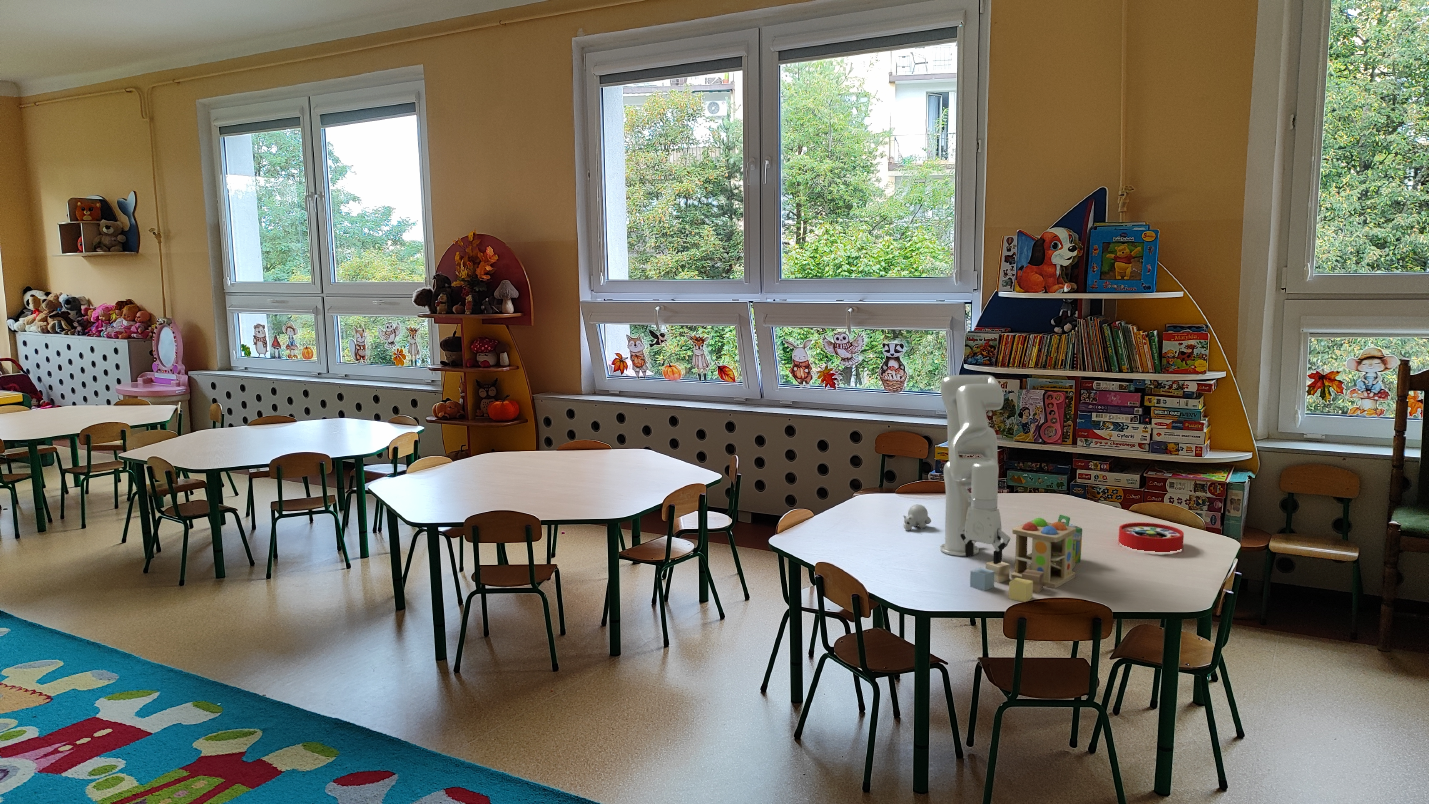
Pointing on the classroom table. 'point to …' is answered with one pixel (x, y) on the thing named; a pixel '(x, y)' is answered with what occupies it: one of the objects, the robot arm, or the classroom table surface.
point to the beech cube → (999, 571)
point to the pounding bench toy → (1045, 551)
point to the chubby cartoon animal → (916, 517)
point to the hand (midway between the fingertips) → (983, 559)
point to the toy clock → (1151, 537)
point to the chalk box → (1074, 538)
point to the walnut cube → (1034, 579)
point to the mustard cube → (1020, 589)
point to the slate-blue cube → (982, 579)
